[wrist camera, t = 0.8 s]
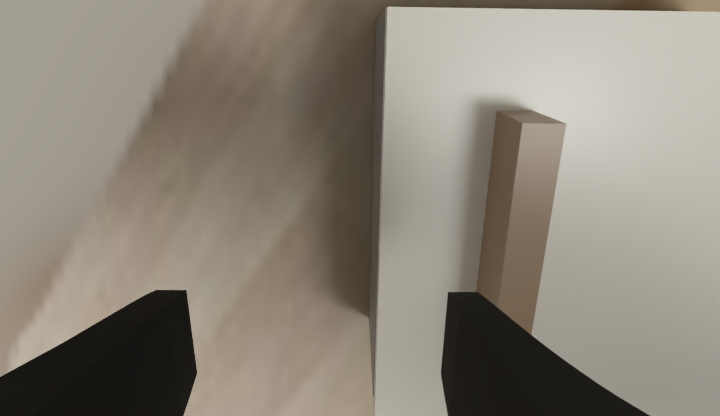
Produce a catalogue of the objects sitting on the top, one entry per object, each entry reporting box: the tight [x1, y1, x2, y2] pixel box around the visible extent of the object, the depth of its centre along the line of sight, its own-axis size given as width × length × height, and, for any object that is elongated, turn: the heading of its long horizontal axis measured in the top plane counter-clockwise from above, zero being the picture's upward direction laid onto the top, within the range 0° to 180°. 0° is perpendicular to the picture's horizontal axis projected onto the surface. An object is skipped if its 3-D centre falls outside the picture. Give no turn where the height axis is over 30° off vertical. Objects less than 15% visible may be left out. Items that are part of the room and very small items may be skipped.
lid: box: [374, 7, 720, 416], centre depth 13 cm, size 12×13×3 cm
